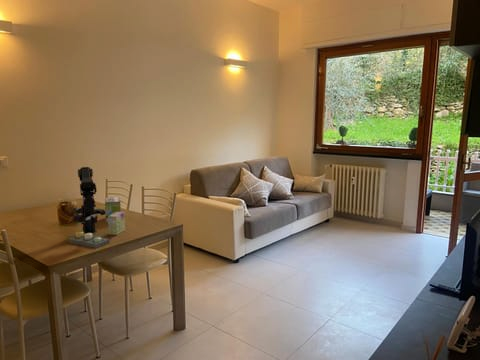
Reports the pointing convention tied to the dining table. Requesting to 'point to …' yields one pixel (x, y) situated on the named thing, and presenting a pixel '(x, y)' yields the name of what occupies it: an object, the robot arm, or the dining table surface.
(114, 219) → the box
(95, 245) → the button panel
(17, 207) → the dining table surface
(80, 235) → the mustard button
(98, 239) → the sage button
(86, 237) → the cream button
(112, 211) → the tea box
